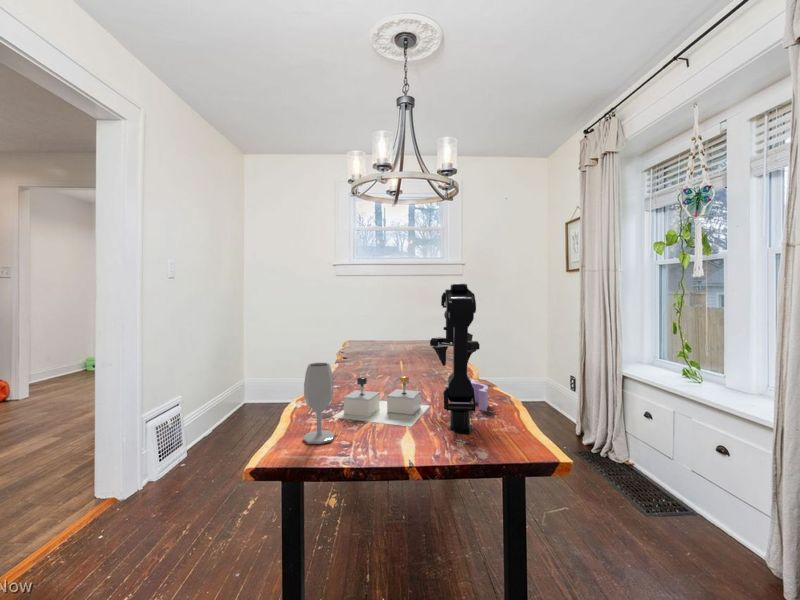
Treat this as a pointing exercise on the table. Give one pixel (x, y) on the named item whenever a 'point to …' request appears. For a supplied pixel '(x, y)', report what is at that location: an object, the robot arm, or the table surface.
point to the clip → (479, 395)
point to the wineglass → (318, 398)
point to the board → (387, 416)
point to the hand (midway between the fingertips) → (453, 367)
